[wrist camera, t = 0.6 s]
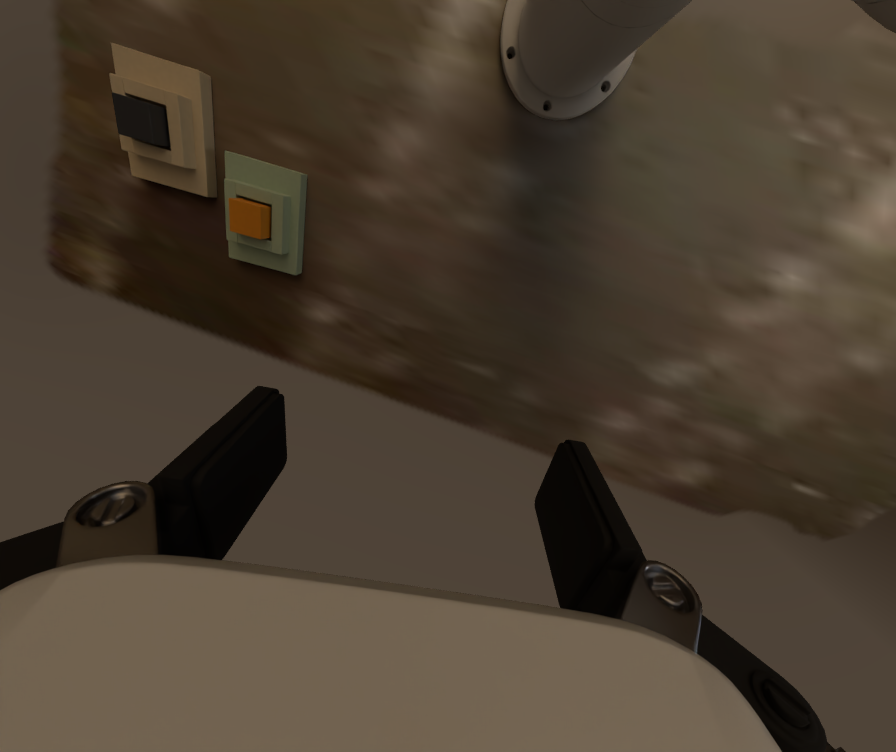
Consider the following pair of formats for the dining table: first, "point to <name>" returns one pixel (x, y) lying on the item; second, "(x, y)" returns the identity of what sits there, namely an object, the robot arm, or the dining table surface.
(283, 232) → the key block
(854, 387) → the dining table surface
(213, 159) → the key block
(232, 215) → the key
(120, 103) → the key
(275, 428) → the robot arm
